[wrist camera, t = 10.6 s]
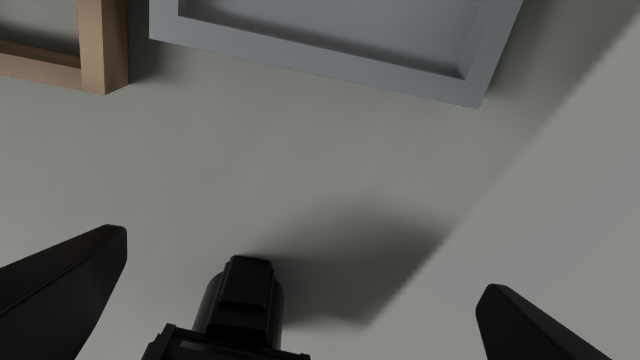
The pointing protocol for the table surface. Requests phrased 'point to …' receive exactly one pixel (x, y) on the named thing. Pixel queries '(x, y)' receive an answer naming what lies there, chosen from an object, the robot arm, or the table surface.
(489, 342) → the robot arm
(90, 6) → the square frame
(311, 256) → the table surface
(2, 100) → the table surface
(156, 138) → the table surface
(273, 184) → the table surface
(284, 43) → the tray
